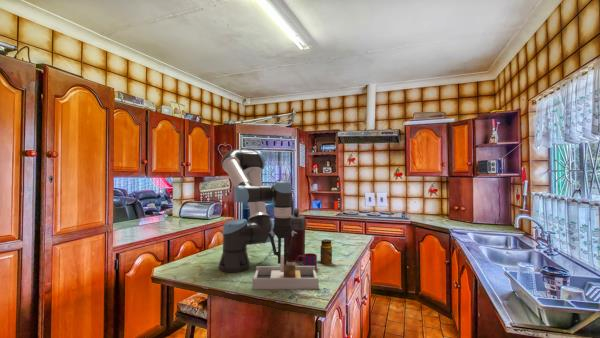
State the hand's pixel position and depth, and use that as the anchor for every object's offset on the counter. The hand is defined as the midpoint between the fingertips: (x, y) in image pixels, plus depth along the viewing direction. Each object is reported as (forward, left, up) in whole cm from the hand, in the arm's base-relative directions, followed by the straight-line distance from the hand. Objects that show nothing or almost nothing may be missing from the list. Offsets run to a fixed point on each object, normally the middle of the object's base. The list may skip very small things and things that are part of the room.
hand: (282, 271), depth 121 cm
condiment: (+22, +25, -5) cm, 33 cm away
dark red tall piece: (+6, +33, -5) cm, 34 cm away
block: (+3, 0, -2) cm, 4 cm away
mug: (+12, +17, -5) cm, 21 cm away
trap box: (+2, 0, -5) cm, 5 cm away
